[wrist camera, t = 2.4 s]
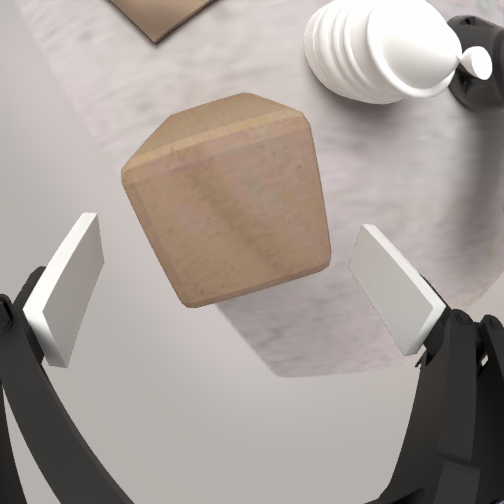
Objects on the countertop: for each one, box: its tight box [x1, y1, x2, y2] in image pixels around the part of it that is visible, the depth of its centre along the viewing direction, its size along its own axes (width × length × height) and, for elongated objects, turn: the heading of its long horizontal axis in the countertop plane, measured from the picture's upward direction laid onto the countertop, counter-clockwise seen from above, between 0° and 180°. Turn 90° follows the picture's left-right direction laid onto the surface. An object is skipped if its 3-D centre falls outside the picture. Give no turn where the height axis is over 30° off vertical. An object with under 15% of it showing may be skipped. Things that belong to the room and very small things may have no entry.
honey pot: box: [304, 0, 492, 104], centre depth 20 cm, size 13×13×18 cm
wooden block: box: [121, 93, 331, 308], centre depth 24 cm, size 10×10×20 cm
